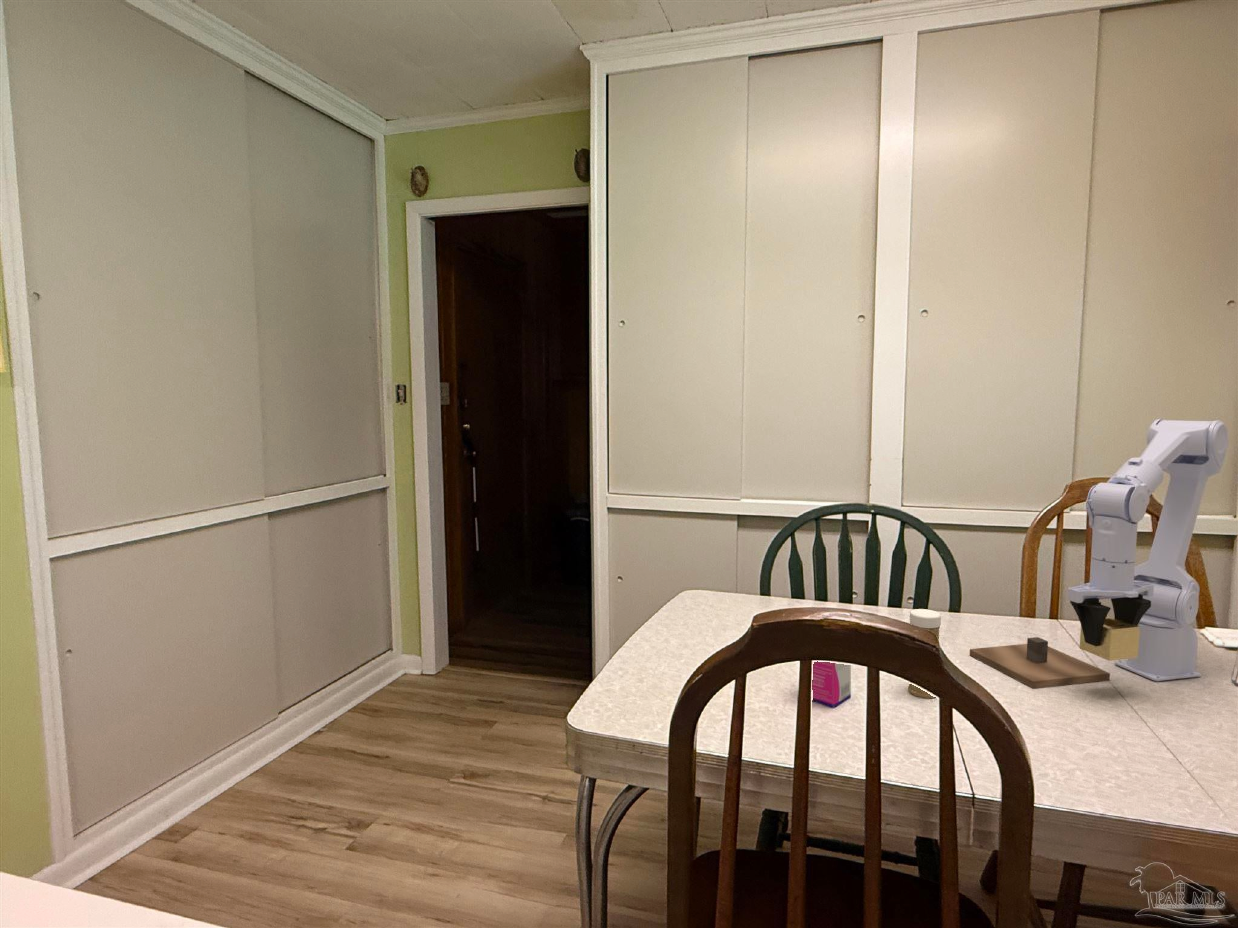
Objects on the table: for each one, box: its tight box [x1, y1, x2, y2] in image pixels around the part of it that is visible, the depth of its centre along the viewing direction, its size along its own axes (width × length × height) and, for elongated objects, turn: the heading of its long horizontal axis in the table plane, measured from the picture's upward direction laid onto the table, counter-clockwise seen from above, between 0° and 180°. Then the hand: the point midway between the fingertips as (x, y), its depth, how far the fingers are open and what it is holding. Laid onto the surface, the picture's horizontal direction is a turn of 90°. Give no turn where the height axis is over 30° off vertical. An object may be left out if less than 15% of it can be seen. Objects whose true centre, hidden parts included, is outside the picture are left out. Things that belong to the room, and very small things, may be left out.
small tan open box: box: [1079, 615, 1140, 662], centre depth 112 cm, size 5×5×5 cm
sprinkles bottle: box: [907, 608, 942, 699], centre depth 113 cm, size 5×5×13 cm
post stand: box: [969, 636, 1111, 689], centre depth 123 cm, size 15×15×5 cm
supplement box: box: [812, 661, 852, 709], centre depth 111 cm, size 6×6×12 cm
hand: (1107, 642), depth 112 cm, fingers closed on small tan open box, 5 cm apart
